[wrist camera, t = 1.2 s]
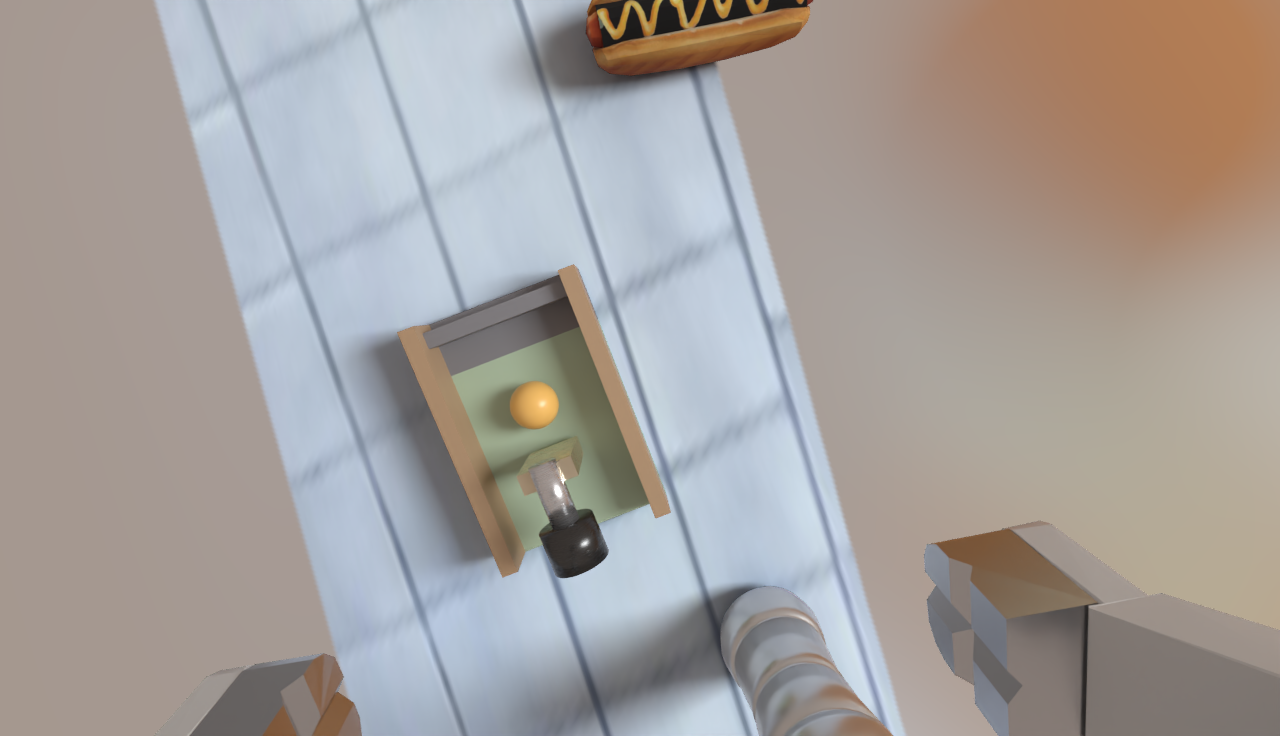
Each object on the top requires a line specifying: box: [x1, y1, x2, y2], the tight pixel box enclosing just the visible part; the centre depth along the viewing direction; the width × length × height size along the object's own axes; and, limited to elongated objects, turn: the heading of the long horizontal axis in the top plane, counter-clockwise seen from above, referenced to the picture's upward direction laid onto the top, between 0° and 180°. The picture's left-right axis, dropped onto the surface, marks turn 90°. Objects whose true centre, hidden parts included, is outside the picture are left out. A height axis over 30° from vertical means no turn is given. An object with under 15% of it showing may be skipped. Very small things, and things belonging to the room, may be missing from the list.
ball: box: [510, 381, 559, 430], centre depth 37 cm, size 3×3×3 cm
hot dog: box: [586, 0, 813, 76], centre depth 35 cm, size 5×13×5 cm, turn 102°
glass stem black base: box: [516, 436, 609, 578], centre depth 35 cm, size 6×3×7 cm, turn 21°
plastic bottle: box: [721, 586, 893, 736], centre depth 31 cm, size 6×7×20 cm
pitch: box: [397, 264, 671, 577], centre depth 37 cm, size 16×11×4 cm
